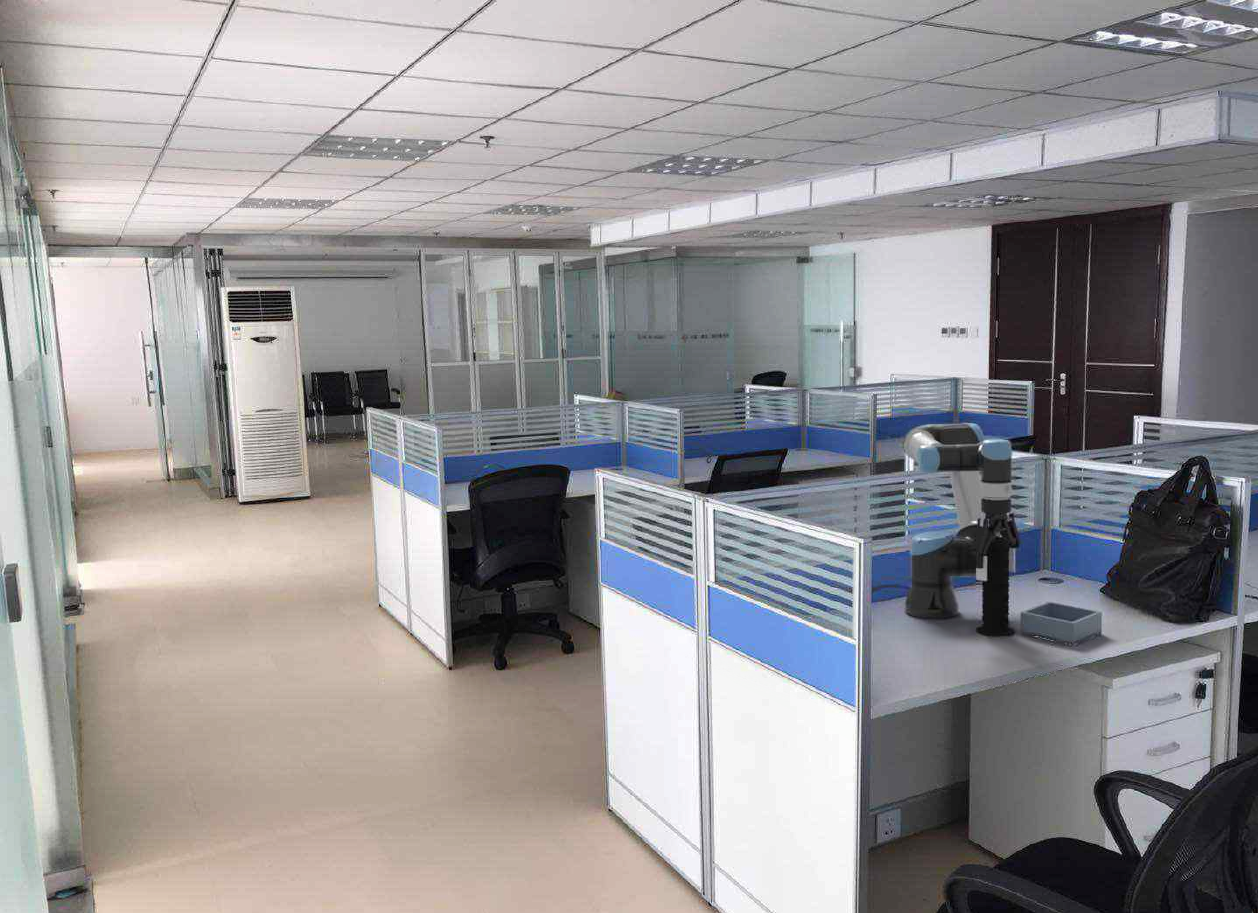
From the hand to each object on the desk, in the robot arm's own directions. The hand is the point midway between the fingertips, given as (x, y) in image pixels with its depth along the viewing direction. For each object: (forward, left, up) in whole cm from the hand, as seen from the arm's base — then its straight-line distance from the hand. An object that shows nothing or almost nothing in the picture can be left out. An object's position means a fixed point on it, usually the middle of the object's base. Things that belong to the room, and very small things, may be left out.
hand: (995, 575), depth 261 cm
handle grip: (0, 0, -16) cm, 16 cm away
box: (+13, +10, -16) cm, 23 cm away
